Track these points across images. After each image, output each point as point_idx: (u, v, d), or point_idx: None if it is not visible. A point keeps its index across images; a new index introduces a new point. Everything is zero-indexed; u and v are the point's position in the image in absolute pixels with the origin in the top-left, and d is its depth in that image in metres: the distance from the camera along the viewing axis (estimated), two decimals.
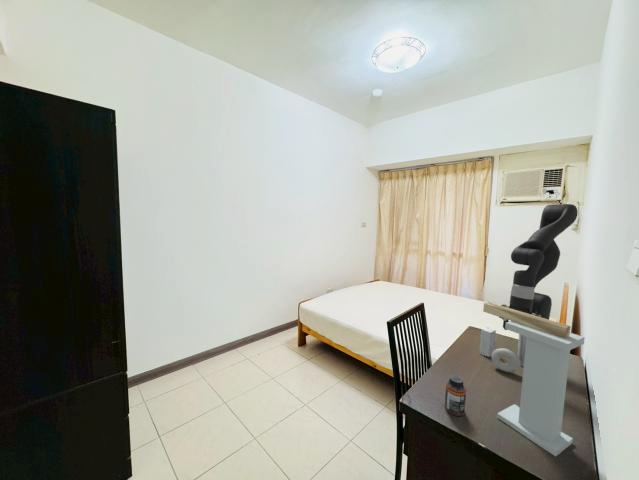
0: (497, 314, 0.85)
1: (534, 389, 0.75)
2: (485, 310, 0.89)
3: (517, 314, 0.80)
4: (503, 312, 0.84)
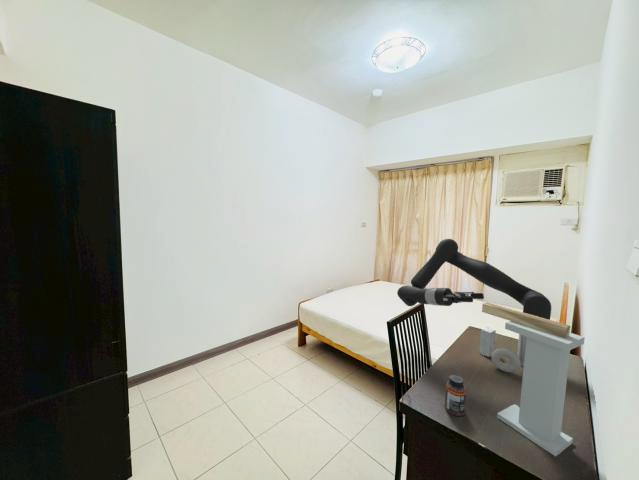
0: (496, 314, 0.85)
1: (534, 389, 0.75)
2: (484, 310, 0.88)
3: (517, 314, 0.80)
4: (502, 312, 0.83)
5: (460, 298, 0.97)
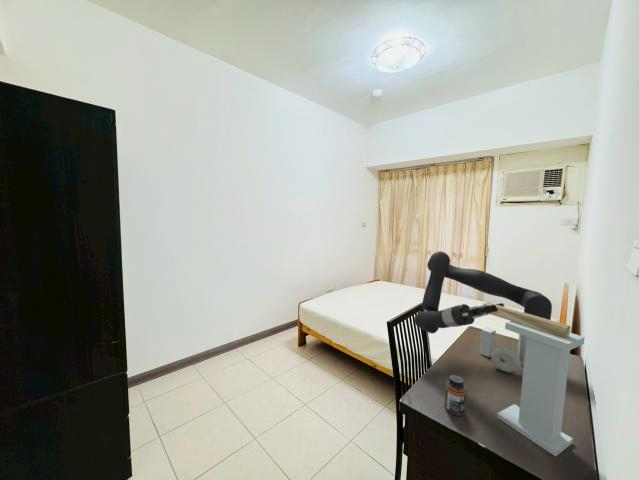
0: (497, 314, 0.85)
1: (534, 389, 0.75)
2: None
3: (517, 314, 0.80)
4: (503, 312, 0.83)
5: (484, 309, 0.88)
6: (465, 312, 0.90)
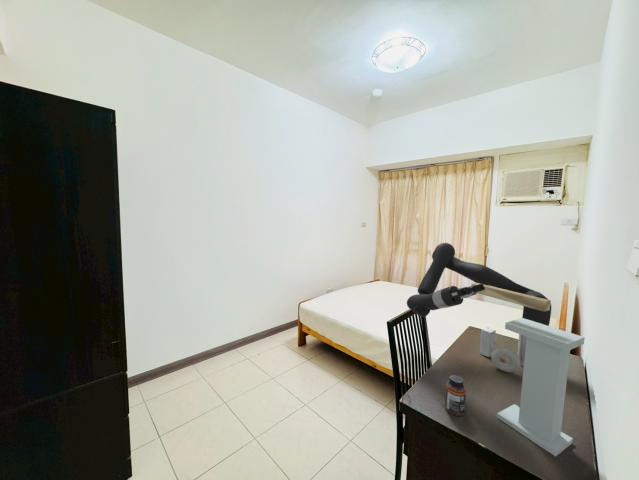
0: (483, 293, 0.89)
1: (534, 389, 0.75)
2: None
3: (502, 292, 0.84)
4: (489, 290, 0.88)
5: (472, 288, 0.92)
6: (454, 292, 0.94)
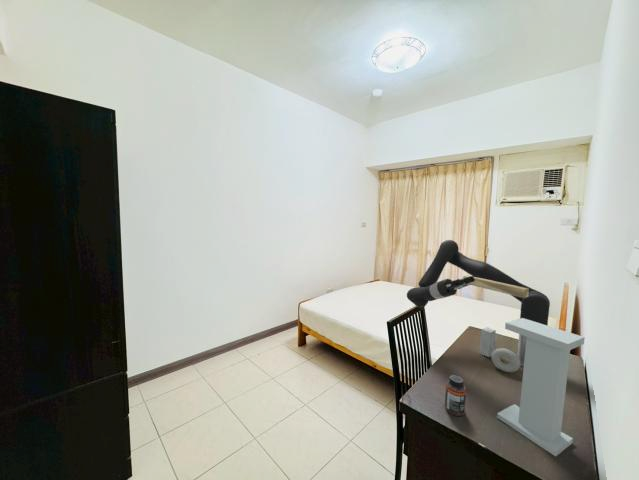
0: (473, 284, 1.02)
1: (534, 389, 0.75)
2: None
3: (489, 282, 0.97)
4: (478, 281, 1.01)
5: (464, 280, 1.05)
6: (448, 283, 1.07)
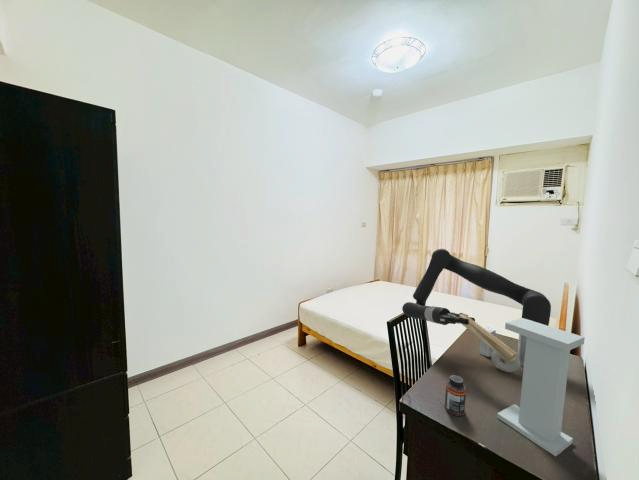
0: (467, 326, 1.03)
1: (534, 389, 0.75)
2: None
3: (481, 332, 0.97)
4: (471, 326, 1.01)
5: (459, 319, 1.05)
6: (443, 318, 1.08)
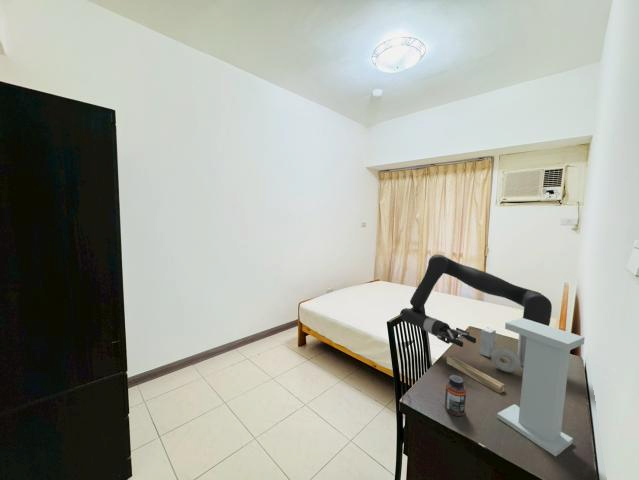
0: (456, 367, 1.10)
1: (534, 389, 0.75)
2: (448, 363, 1.13)
3: (469, 370, 1.05)
4: (460, 366, 1.08)
5: (452, 340, 1.07)
6: (439, 335, 1.11)
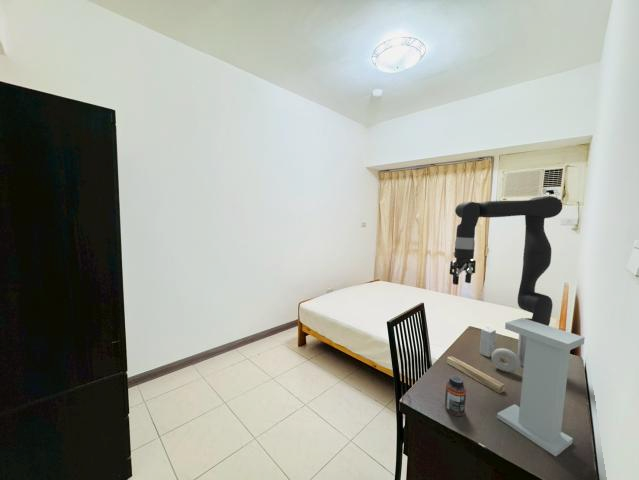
0: (456, 367, 1.10)
1: (534, 389, 0.75)
2: (448, 363, 1.13)
3: (469, 370, 1.05)
4: (460, 366, 1.08)
5: (455, 276, 1.10)
6: (454, 264, 1.09)
